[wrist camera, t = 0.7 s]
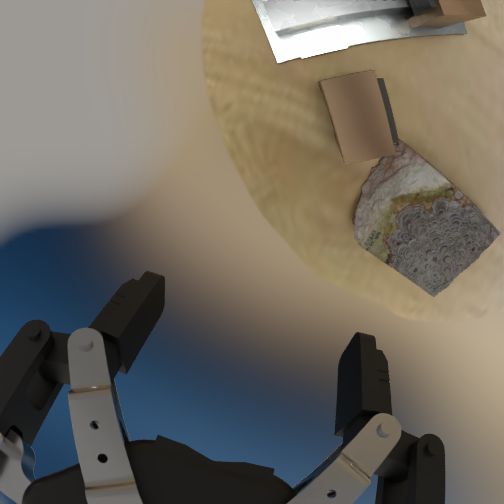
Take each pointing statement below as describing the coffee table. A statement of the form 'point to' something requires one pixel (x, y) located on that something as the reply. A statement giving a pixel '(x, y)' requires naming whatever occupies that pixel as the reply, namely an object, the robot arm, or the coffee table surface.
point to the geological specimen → (419, 221)
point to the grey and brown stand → (357, 22)
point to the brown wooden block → (360, 116)
